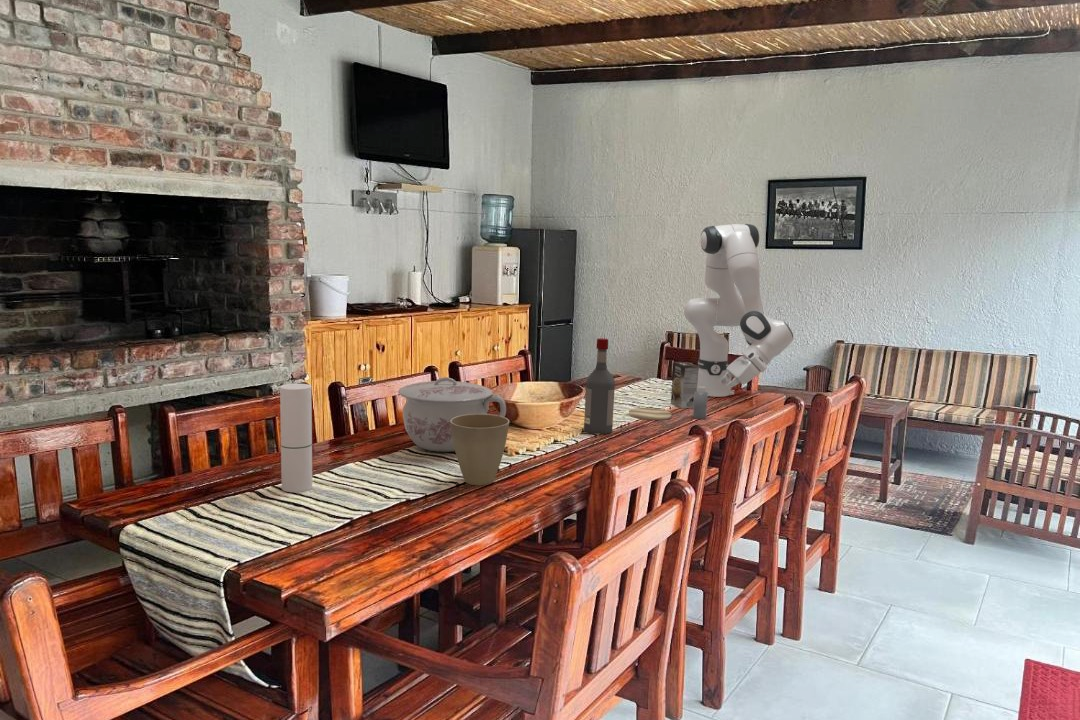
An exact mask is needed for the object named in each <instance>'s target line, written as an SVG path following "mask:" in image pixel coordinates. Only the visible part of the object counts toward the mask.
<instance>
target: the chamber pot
mask: <svg viewBox="0 0 1080 720" xmlns="http://www.w3.org/2000/svg"><path fill="white" fill-rule="evenodd" d="M397 393H398V395H400V396H401V397H403V398H405V399H406V401H405V403H404V405H403V407H402V419H403V424H404V428H405V431H406V433H407V434H408V436H409V437H410V439H411V441H412V442H413V443H414V445H416V447H418V448H419V449H420V448H421V449H423V450H426V451H427V452H428V451H429V452H434V453H456V452H455V448H454V443H453V438H452V431H451V423H450V420H451V419H452V418H454V417H457V416H461V415H468V414H488V411H489V407H490V405H489V404H490V403H493V402H496V403H498V404H499V406H500V408H499V409H500V413H499V415H498V416H502V417H505V416H506V414H507V413H506V412H507V403H506V401H505V400H504V398H503V397H502V396H501V395H499V394H498V393H494V394H493V390H492V389H491V388H489V387H487V386H484V385H480V384H476V383H472V382H467V381H456V380H455V379H453V378H451V377H449V376H448V377H446V376H443V377H440V378H438V379H437V380H430V381H429V380H428V381H420V382H415V383H411V384H408V385H407V384H406V385H404V386H402V387H400V388H398V390H397Z"/></svg>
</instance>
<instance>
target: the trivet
mask: <svg viewBox="0 0 1080 720" xmlns="http://www.w3.org/2000/svg"><path fill="white" fill-rule="evenodd" d="M628 415H629V416H630V417H632V418H634V419H638V420H645V421H665V420H670V419H672V416H673V415H672V412H670V411H668V410H664V409H660V408H654V407H653V408H652V407H635V408H631V409H629V411H628Z"/></svg>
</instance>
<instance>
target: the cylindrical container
mask: <svg viewBox="0 0 1080 720" xmlns="http://www.w3.org/2000/svg"><path fill="white" fill-rule="evenodd" d="M279 399H280V400H279V402H280V403H279V407H280V408H279V409H280V410H279V411H280V413H279V415H280V463H281V464H280V469H281V472H280V473H281V490H282V491H284V492H287V493H300V492H302V493H303V492H306V491H309V490H311V489H312V488H313V434H312V433H313V431H312V430H313V427H312V426H313V422H312V421H313V419H312V417H313V415H312V414H313V413H312V412H313V411H312V408H313V407H312V385H311V384H307V383H288V384H287V383H286V384H283V385H280V386H279Z"/></svg>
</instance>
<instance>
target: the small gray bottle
mask: <svg viewBox="0 0 1080 720" xmlns="http://www.w3.org/2000/svg"><path fill="white" fill-rule="evenodd" d="M705 389H706V388H705V387H698V389H697V391H696V392H695V394H694V408H692V409H693V410H692V418H694V419H698V420H705V419H707V409H708V408H707V407H708V397H709V396H708V393H707V392H705Z"/></svg>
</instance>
